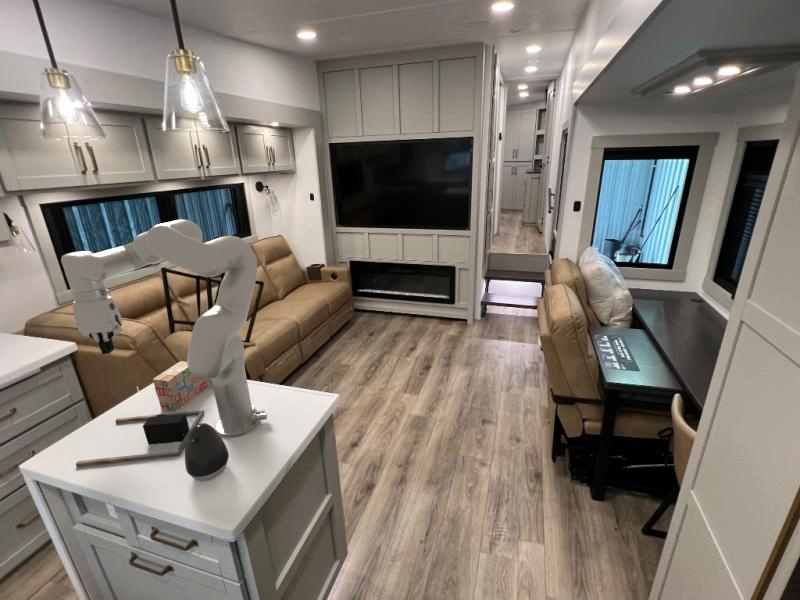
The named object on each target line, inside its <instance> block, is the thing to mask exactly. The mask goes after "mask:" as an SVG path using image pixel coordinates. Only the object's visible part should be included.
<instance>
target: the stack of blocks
mask: <svg viewBox="0 0 800 600" xmlns="http://www.w3.org/2000/svg"><path fill="white" fill-rule="evenodd" d="M152 381H153V385H154V390H155V393H156V396H157V399H158V401H159V405H160V410H163V411H169V412H178V411H180V410H181V409H182V408H183V407H185V404H186V403H187V404H188V403H190V402H191V401H192V400H193V398H194V397H195V398H196V397H197V396H198V395H199V393H200V394H201V393H202V392H203V391H204V390H206V389H207V388H209V387H210V386H211V385H212V380H200V379H197V378H196V377H194V376H193V375H192V374H191V372H190V371H189V368H188V365H187V361H178V362H177V363H176V364H173V365H172V366H171V367H169V368H167V369H166V370H165V371H163V372H161V373H160V374H158V375H157V376H155V377H154V378H152ZM196 395H197V396H196ZM195 398H194V399H195ZM190 400H191V401H190ZM189 401H190V402H189ZM187 404H186V405H187ZM182 406H183V407H182ZM181 407H182V408H181ZM177 410H178V411H177Z"/></svg>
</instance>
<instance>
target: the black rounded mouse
mask: <svg viewBox="0 0 800 600" xmlns="http://www.w3.org/2000/svg"><path fill="white" fill-rule="evenodd" d="M229 455H230V453H229V450H228V448H227V446H226V444H225V442H224V439H223V438H222V436H221V435H219V434H218V432H217V429H215V428H214V426H211V425H210V424H208V423H205V422H201V423H200V422H199V424H197V425H195V426H194V427H193V428H192V429H191V430H190V432H189V434H188V437H187V440H186V446H185V448H184V463H185V464H184V465H185V470H186V473H187V475H189V476H190V477H191V478H193V479H194V480H196V481H199V482H207V481H211V480H213V479H215V478H217V477H219V476H220V475H221V474H222V473H223V472H224V471H225V469H226V467H227V465H228V461H229Z"/></svg>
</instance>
